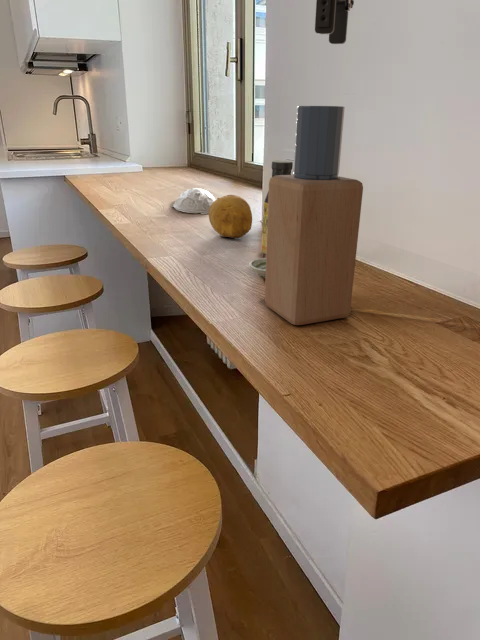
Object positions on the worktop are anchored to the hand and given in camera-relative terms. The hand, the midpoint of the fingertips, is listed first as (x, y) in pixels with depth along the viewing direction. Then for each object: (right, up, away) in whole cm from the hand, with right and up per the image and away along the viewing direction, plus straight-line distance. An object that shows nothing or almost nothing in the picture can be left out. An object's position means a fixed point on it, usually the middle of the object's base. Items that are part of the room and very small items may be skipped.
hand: (331, 39), depth 63 cm
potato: (-14, -15, +61) cm, 64 cm away
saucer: (-5, -28, +30) cm, 41 cm away
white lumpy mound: (-26, +1, +99) cm, 102 cm away
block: (-1, -35, +13) cm, 37 cm away
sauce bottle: (-4, -23, +41) cm, 47 cm away
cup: (-1, -16, +5) cm, 17 cm away
